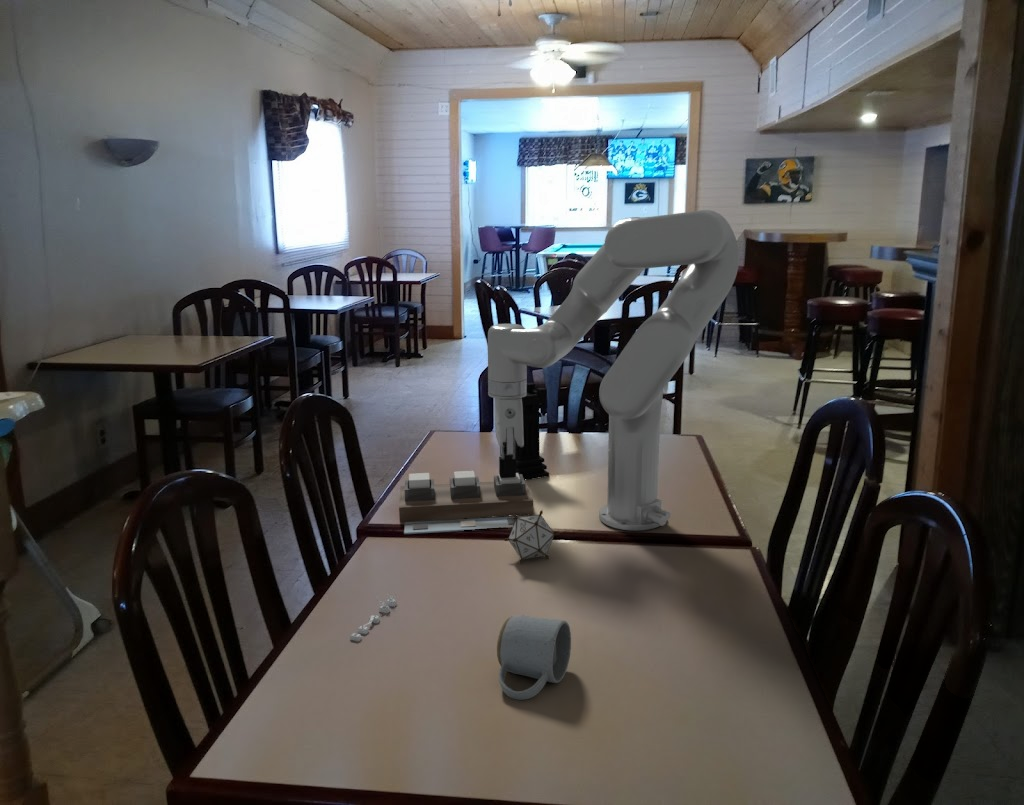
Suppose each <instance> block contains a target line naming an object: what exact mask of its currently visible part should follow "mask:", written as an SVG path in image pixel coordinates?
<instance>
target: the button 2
mask: <svg viewBox="0 0 1024 805" xmlns="http://www.w3.org/2000/svg"><path fill="white" fill-rule="evenodd" d="M498 475H499V474H498ZM512 483H520V477H519V474H518V473H516V477H511V478H501V477H500V475H499V484H512Z"/></svg>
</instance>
